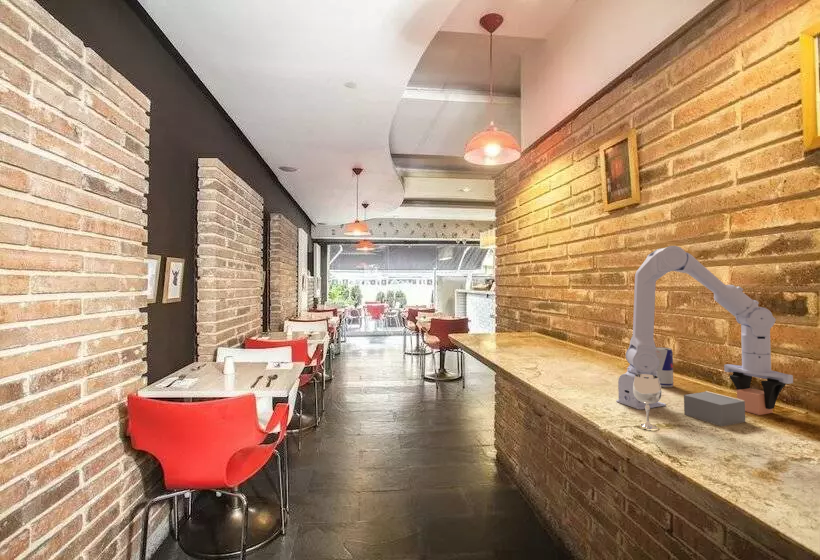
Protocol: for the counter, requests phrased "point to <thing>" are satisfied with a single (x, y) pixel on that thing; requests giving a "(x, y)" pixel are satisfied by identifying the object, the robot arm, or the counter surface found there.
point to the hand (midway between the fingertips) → (757, 405)
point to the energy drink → (665, 366)
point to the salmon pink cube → (753, 401)
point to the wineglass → (647, 393)
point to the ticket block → (714, 408)
